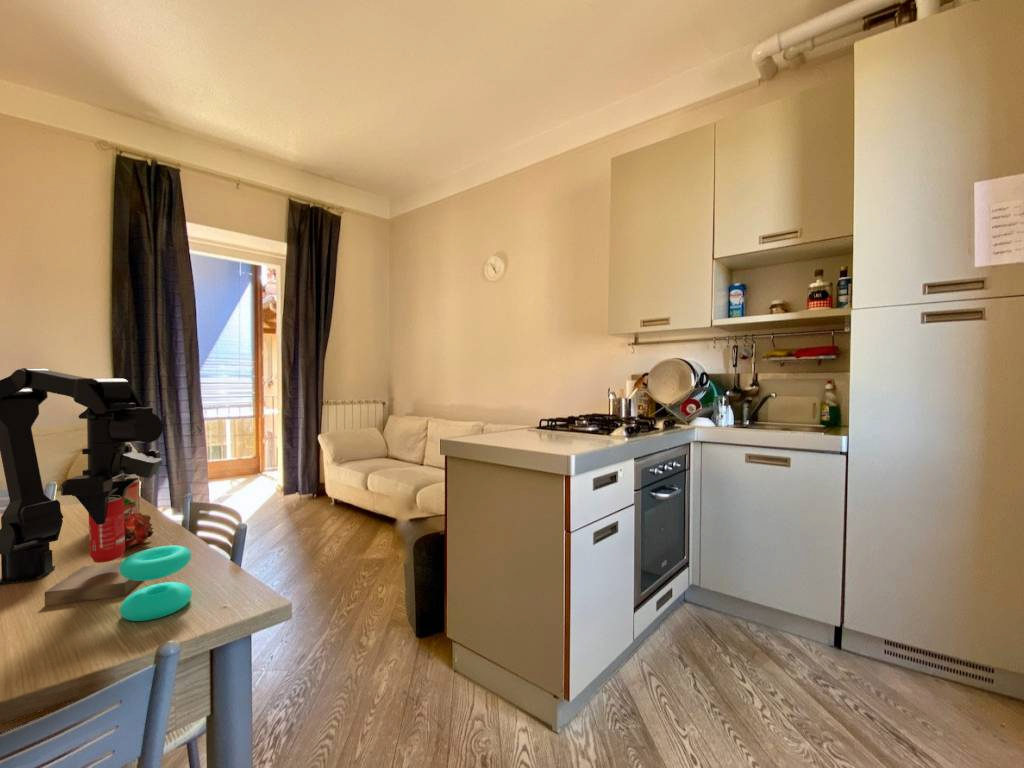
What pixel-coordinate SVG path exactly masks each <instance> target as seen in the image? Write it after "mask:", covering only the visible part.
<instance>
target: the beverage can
mask: <svg viewBox="0 0 1024 768" xmlns="http://www.w3.org/2000/svg"><path fill="white" fill-rule="evenodd" d="M121 497H122V496H120V495H110V496H109V500H108V507H107V514H106V519H105V523H104V524H101V525H97V524H96V523H95V521H94V520H93V518H92V517H91V516H90V514H89V513H88V530H89V533H88V535H89V555H90V556H89V557H90V558H91V559H92V561H93V562H94V563H98V564H99V563H100V564H103V563H107V562H108V563H109V562H112V561H115V560H118V559H120V558H122V557H123V555H124V553H125V550H126V549H125V532H124V504H123V499H122V498H121Z"/></svg>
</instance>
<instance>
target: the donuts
mask: <svg viewBox="0 0 1024 768" xmlns="http://www.w3.org/2000/svg"><path fill="white" fill-rule="evenodd" d="M191 558H192V552H191V550H190V549H189V548H187V547H186V546H183V545H175V544H174V545H171V544H170V545H162V546H155V547H152V548H150V547H149V548H147V549H144V550H141V551H137V552H134V553H133V554H131V555H129V556H127V557H125V559H124V560H123V561H122V563H121V565H120V573H121V575H122V576H123V577H125V578H127V579H130V580H136V581H141V582H142V581H152V580H157V579H161V578H165V577H168V576H170V575H173V574H176V573H177V572H179V571H181V570H182V569H184V568H185V567H186V566H187V565H188V564H189V563H190V561H191ZM192 593H193V592H192V590H191V587H190V586H189V585H187V584H185V583H182V582H178V581H167V582H166V581H165V582H159V583H155V584H152V585H148V586H145V587H143V588H140V589H138V590H136V591H134V592H133V593H131V594H130V595H129V596H127V597H126V598H125V599H124V601H123V602H122V603H121V605H120V608H119V612H120V615H121V616H122V618H124V619H125V620H128V621H130V622H131V621H133V622H143V621H145V622H146V621H152V620H157V619H160V618H163V617H166V616H169V615H172V614H173V613H176V612H178V611H179V610H181V609H183V608H184V607H185V606H187V604H188V603H189V602H190V601H191V598H192V595H193V594H192Z"/></svg>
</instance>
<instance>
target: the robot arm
mask: <svg viewBox="0 0 1024 768" xmlns="http://www.w3.org/2000/svg"><path fill="white" fill-rule="evenodd" d="M48 393H51V394H57V395H62V396H66V397H69V398H72V399H73V401H74V402H75V403H76V404H79V405H81V406H83V407H86V409H85V410H84V411H83V412H81V413H80V414H78V419H79V420H81V419H82V420H86V427H87V428H86V431H87V432H86V433H87V436H86V438H87V439H86V440H87V442H86V443H87V444H86V445H87V446H86V448H82V450H81V453H82V455H87V468H86V469H84V470H82V475H76V476H73V477H70V478H67V479H66V480H65V481H64V482H62V483H61V484H60V495H61V496H63V497H64V496H65V497H66V496H72V497H75V498H76V499H77V500H78V501H79V503H81V505H82V506H83V508H84V509H85V511H87V513H88V515H89V514H90V516H91V517H92V518H93V520H94V521H95V523H96V524H97V525H101V524H104V523H105V519H106V514H107V507H108V500H109V496H110V495H120V496H122V497H121V498H122V499H123V500H124V497H125V494H126V492H127V489H128V487H129V486H131V485H132V484H133V483H134V482H135V481H137V480H138V479H139V480H140V477H141V478H151V477H152V476H154V475H156V474H157V473H158V470H159V468H160V466H162V465H163V461H162V460H163V458H162V457H161V453H160V450H156V449H150V450H148V451H146V452H145V453H143V452H140V453H139V452H138V453H134V452H132V446H133V445H132V446H130V444H127V445H126V442H131V443H140V444H141V443H143V444H145V443H146V444H149V443H153V442H155V441H157V440H158V439H159V438H160V436H161V435H162V434H163V430H164V424H163V422H162V420H161V418H160V417H159V416H158V415H156V414H155V413H154V410H153V407H144V405H143V402H142V401H141V400H140V399H139V397H138V396H137V393H136V392H135V391H134V389H133V388H132V386H131V385H130V382H129V381H128V380H127V379H125V378H119V377H118V378H113V377H111V378H110V377H109V378H107V377H106V378H103V377H102V378H101V377H100V378H97V377H96V378H93V377H92V378H91V377H90V378H88V377H83V376H79V375H73V374H69V373H63V372H59V371H53V370H50V369H48V368H36V367H35V368H33V367H32V368H30V367H29V368H27V367H23V368H19V369H16V370H14V372H12V373H11V375H9V376H7V377H5V378H2V379H0V458H1V462H2V463H1V464H2V467H3V473H4V477H5V482H6V489H7V493H8V498H9V499H8V501H9V503H8V504H7V506H6V508H5V510H4V511H3V512H2V514H1V517H0V524H1V527H0V563H1V564H0V565H1V566H0V567H1V569H0V570H1V572H0V573H1V578H0V585H4V584H12V583H21V582H31V581H37V580H38V579H40V578H41V577H43V576H44V575H46V574H48V573H50V572H51V571H53V570H54V569H55V568H56V566H55V565H53V550H52V549H50V543H52V542H57V541H58V540H59V537H60V534H61V530H62V526H63V523H64V521H63V519H64V515H63V513H62V510H61V503H60V501H59V500H58V499H53V500H52V499H51V498H50V497H48V496H47V495H46V494H45V492H44V487H43V481H42V477H41V471H40V467H39V461H38V456H37V452H36V451H37V450H36V446H35V445H36V444H35V441H34V436H33V435H34V434H33V431H32V427H33V425H34V424H35V422H36V421H37V419H38V417H39V415H40V407H39V406H40V405H41V404H42V403H43V402H44V401H46V400H47V399H48V397H49V396H48ZM132 474H136V475H137V476H139V478H131V475H132Z"/></svg>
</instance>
